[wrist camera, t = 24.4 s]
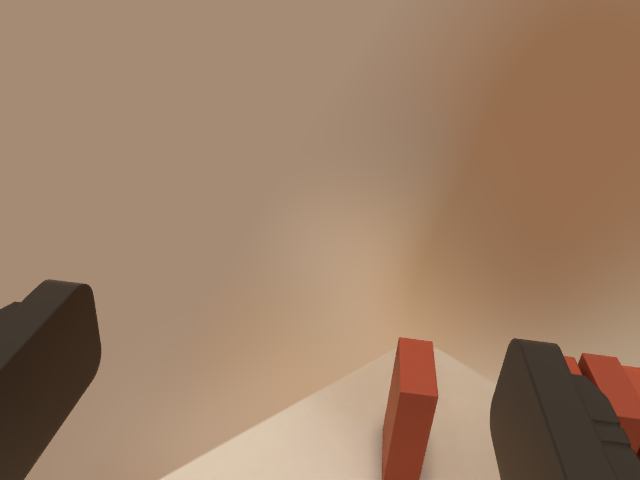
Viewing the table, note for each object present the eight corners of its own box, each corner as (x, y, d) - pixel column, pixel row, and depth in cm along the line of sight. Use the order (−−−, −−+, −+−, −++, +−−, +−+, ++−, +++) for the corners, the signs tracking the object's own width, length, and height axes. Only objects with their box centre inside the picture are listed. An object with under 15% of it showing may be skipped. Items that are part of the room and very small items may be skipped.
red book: (381, 489, 41) (400, 391, 37) (382, 429, 47) (398, 336, 42) (415, 494, 41) (438, 396, 37) (413, 433, 47) (432, 341, 42)
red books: (526, 511, 41) (565, 409, 36) (509, 444, 46) (541, 347, 41) (644, 529, 40) (701, 427, 35) (612, 458, 46) (657, 362, 41)
